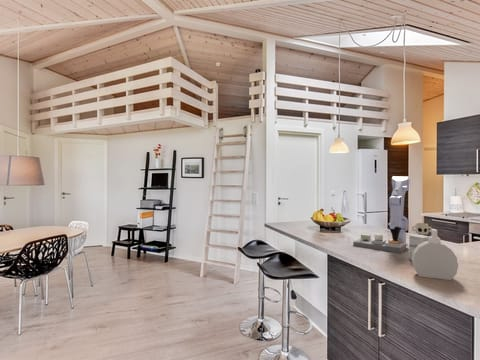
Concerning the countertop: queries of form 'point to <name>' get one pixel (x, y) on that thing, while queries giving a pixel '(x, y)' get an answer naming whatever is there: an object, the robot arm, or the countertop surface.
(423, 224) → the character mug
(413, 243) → the supplement box
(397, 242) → the brown rectangular block
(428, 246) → the soap bottle
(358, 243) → the switch panel
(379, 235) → the off-white button
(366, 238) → the pale green block
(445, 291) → the countertop surface
